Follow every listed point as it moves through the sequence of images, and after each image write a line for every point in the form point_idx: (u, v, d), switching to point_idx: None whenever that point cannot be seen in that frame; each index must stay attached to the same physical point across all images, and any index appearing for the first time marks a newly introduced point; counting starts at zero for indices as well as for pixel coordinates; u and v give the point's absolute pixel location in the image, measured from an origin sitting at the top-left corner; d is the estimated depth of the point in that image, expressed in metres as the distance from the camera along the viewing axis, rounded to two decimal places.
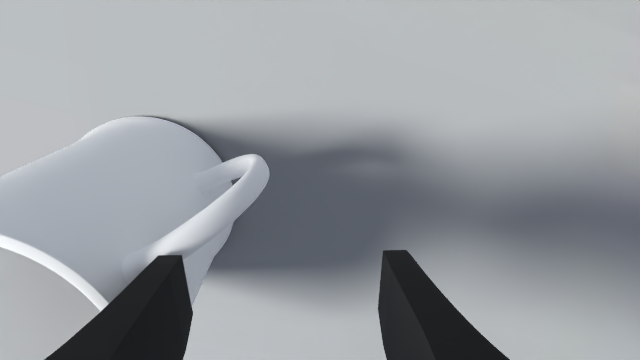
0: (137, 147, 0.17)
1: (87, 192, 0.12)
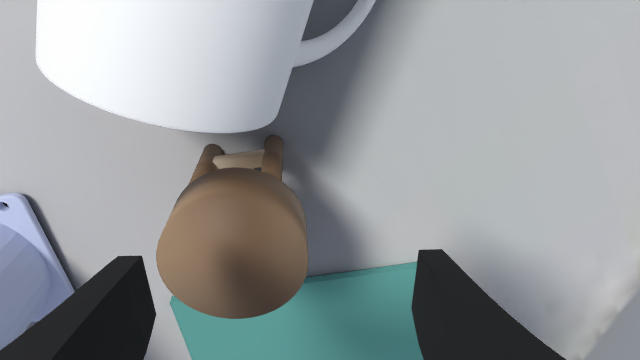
0: None
1: (302, 34, 0.15)
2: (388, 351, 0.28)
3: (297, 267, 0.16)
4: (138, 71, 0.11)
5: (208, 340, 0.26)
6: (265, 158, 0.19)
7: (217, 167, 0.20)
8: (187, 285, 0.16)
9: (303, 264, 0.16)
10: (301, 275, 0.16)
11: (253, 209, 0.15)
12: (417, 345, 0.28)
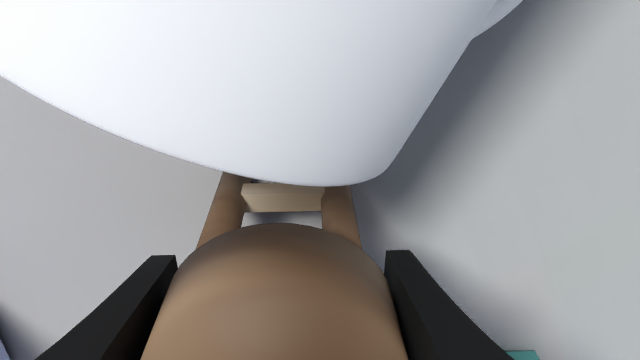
0: None
1: None
2: None
3: None
4: (168, 15, 0.04)
5: None
6: (329, 200, 0.12)
7: (247, 203, 0.12)
8: None
9: None
10: None
11: (337, 328, 0.07)
12: None
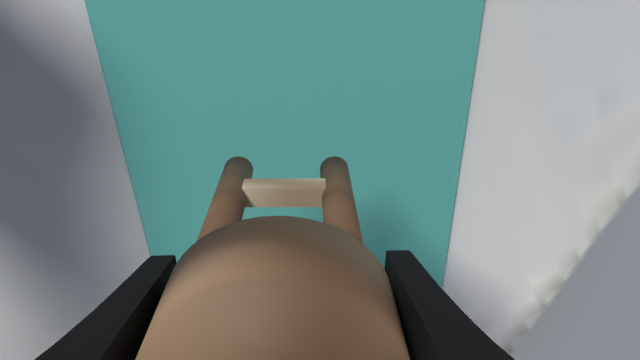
0: None
1: None
2: (383, 138, 0.21)
3: None
4: None
5: (137, 80, 0.19)
6: (330, 196, 0.12)
7: (247, 198, 0.12)
8: None
9: None
10: None
11: (338, 321, 0.07)
12: (423, 133, 0.21)
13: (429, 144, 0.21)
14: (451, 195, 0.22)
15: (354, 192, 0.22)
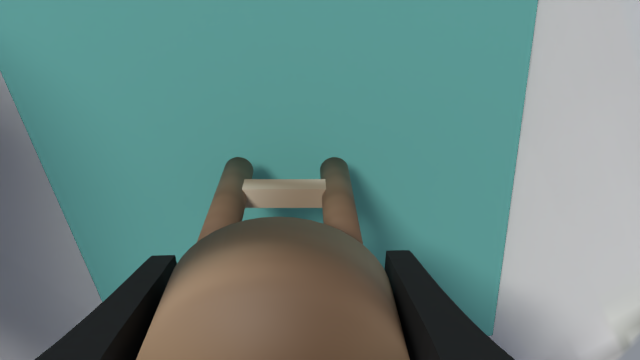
0: None
1: None
2: (405, 144, 0.15)
3: None
4: None
5: (53, 87, 0.13)
6: (330, 196, 0.12)
7: (248, 198, 0.12)
8: None
9: None
10: None
11: (338, 322, 0.07)
12: (461, 134, 0.15)
13: (470, 149, 0.15)
14: (502, 216, 0.16)
15: (369, 219, 0.16)
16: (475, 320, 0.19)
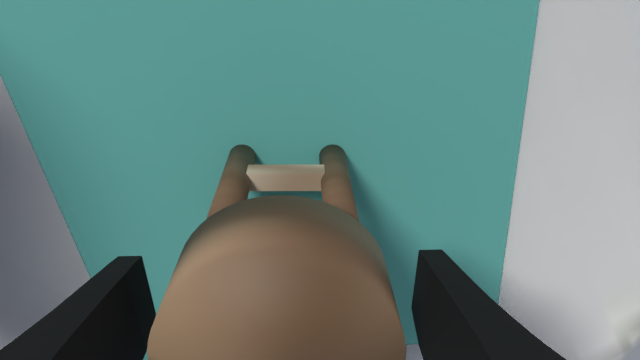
0: None
1: None
2: (406, 145, 0.15)
3: None
4: None
5: (53, 88, 0.13)
6: (329, 180, 0.12)
7: (251, 182, 0.13)
8: None
9: None
10: None
11: (336, 285, 0.08)
12: (462, 135, 0.15)
13: (471, 150, 0.15)
14: (503, 217, 0.16)
15: (370, 220, 0.16)
16: None
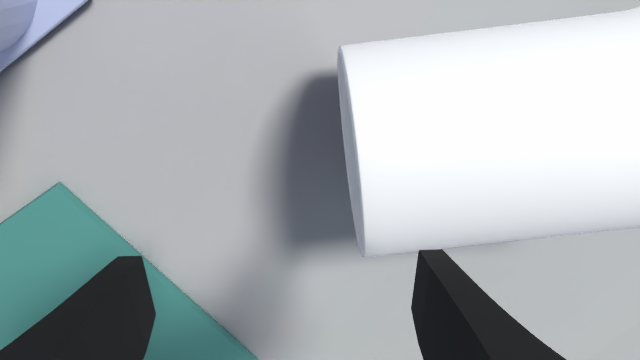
0: None
1: None
2: None
3: None
4: (408, 205, 0.13)
5: (30, 238, 0.22)
6: None
7: None
8: None
9: None
10: None
11: None
12: None
13: None
14: None
15: None
16: None
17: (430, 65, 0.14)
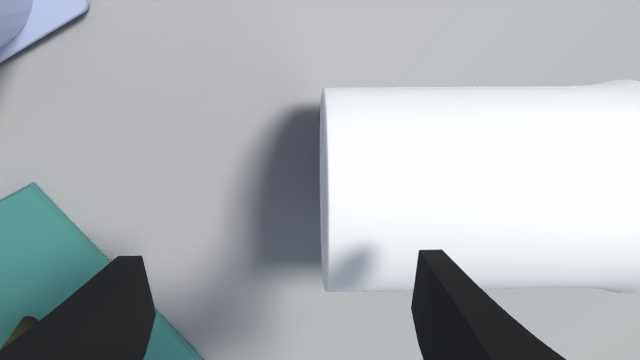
0: None
1: None
2: None
3: None
4: (371, 251, 0.14)
5: None
6: None
7: None
8: None
9: None
10: None
11: None
12: None
13: None
14: None
15: None
16: None
17: (405, 121, 0.14)
